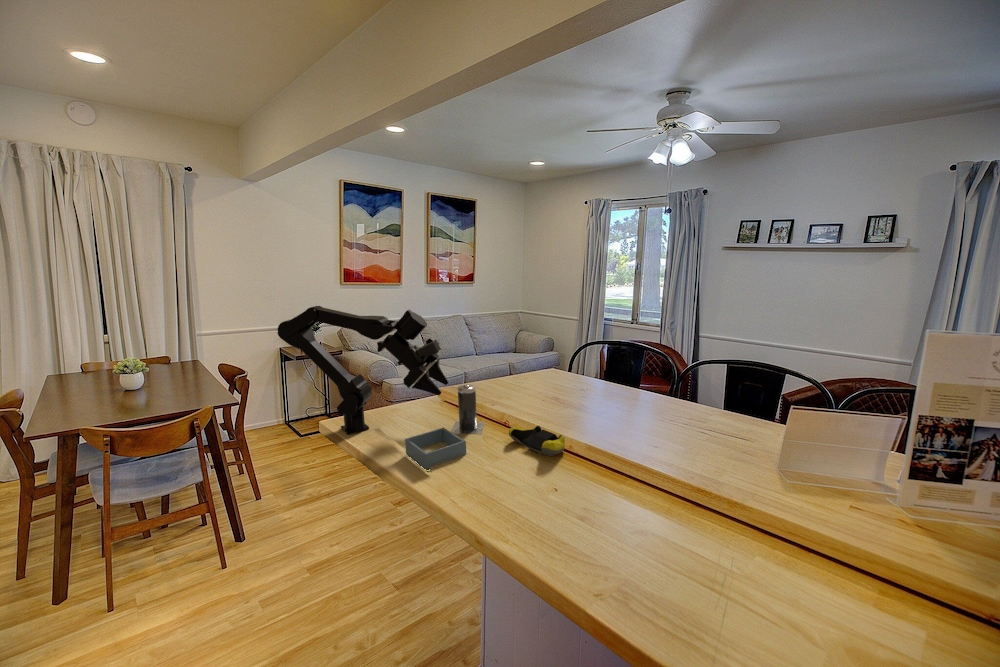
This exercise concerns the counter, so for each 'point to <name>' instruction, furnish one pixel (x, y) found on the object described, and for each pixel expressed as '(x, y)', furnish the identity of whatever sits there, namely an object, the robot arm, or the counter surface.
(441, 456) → the bin
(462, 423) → the battery
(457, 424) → the plate
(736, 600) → the counter surface
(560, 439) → the black and yellow shoe
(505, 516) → the counter surface
